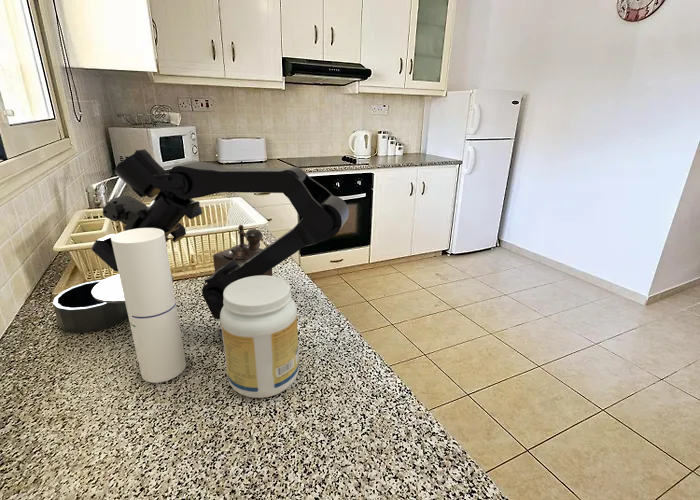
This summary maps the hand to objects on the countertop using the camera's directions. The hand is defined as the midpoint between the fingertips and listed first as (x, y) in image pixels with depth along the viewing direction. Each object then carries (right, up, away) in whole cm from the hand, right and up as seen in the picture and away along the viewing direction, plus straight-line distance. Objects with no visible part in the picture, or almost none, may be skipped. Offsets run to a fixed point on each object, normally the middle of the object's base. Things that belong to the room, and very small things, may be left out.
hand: (124, 264), depth 75 cm
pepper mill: (+20, -7, +20) cm, 29 cm away
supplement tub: (+30, -19, -10) cm, 37 cm away
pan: (-10, -11, +7) cm, 16 cm away
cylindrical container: (+13, -18, -9) cm, 24 cm away
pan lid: (+1, -4, +1) cm, 5 cm away
